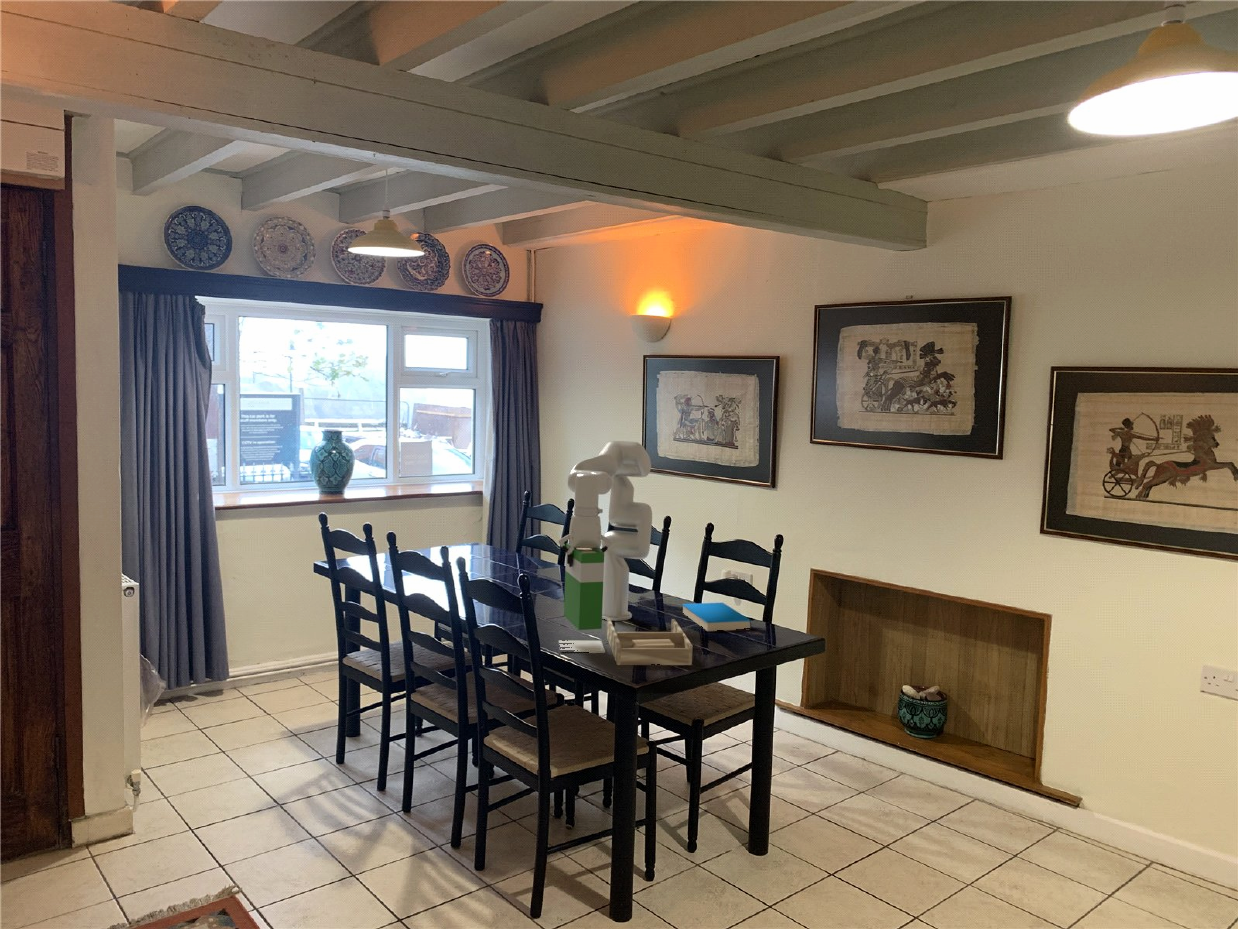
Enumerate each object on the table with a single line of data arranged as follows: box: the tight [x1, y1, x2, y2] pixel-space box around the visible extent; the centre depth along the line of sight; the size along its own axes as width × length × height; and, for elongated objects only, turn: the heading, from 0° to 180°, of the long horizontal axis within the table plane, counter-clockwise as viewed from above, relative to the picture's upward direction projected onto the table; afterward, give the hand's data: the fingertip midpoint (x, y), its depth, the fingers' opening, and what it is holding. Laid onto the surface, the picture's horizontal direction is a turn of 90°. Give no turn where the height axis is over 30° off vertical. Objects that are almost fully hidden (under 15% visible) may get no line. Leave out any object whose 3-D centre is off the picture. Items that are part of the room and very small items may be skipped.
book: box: [682, 602, 752, 632], centre depth 329 cm, size 17×4×25 cm
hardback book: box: [563, 542, 604, 631], centre depth 289 cm, size 18×7×24 cm, turn 19°
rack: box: [606, 618, 694, 666], centre depth 290 cm, size 31×23×7 cm
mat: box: [558, 639, 606, 654], centre depth 290 cm, size 12×14×1 cm
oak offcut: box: [632, 639, 674, 648], centre depth 280 cm, size 6×12×3 cm, turn 102°
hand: (584, 566), depth 288 cm, fingers closed on hardback book, 8 cm apart
